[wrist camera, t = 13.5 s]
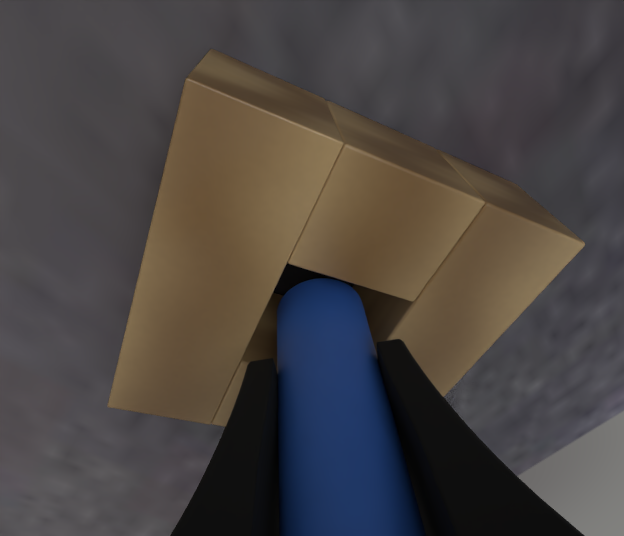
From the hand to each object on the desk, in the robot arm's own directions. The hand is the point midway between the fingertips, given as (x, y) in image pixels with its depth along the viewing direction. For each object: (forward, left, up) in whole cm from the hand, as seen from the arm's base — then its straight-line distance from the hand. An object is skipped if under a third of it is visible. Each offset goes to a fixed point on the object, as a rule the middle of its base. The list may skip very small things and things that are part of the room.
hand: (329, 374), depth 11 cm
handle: (0, 0, -3) cm, 3 cm away
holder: (0, 0, -6) cm, 6 cm away
